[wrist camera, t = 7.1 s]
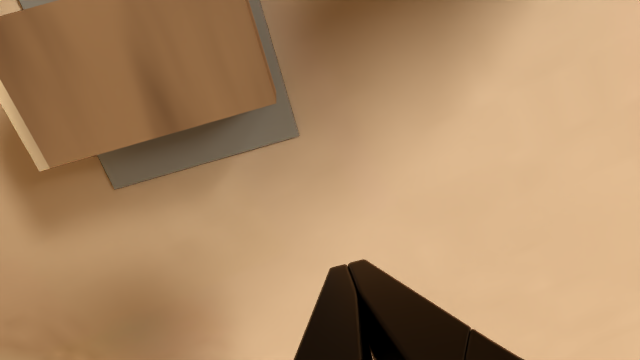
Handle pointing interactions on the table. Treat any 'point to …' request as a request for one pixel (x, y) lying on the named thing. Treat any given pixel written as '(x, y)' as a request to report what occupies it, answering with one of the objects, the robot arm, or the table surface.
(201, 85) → the walnut block
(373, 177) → the table surface
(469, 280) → the table surface
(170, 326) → the table surface
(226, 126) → the felt pad
